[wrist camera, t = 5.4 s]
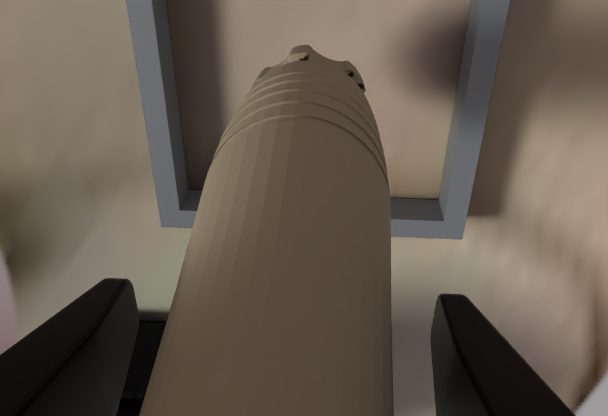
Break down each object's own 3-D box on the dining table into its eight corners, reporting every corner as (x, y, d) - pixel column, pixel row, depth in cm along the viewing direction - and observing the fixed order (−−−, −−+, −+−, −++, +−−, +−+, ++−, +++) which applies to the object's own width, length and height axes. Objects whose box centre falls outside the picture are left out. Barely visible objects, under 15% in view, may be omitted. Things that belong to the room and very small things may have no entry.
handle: (312, -52, 15) (128, 629, 2) (437, 133, 17) (668, 910, 5) (178, 55, 16) (-335, 759, 4) (309, 207, 19) (242, 913, 7)
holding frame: (455, 217, 23) (462, 239, 22) (171, 205, 23) (161, 226, 22) (525, -153, 16) (541, -152, 15) (119, -158, 17) (101, -157, 15)
